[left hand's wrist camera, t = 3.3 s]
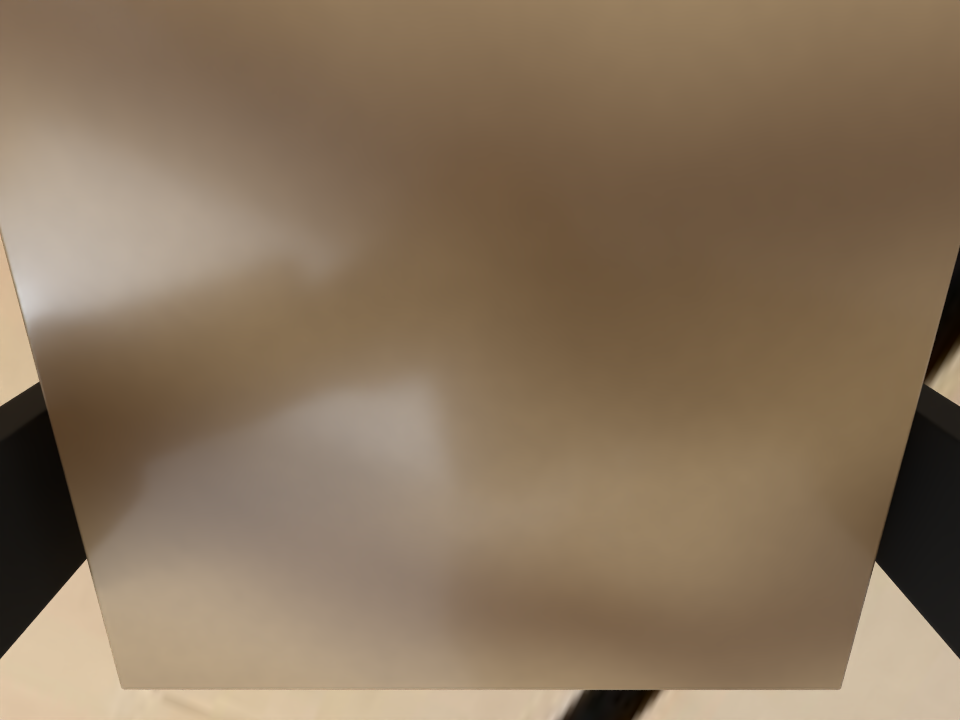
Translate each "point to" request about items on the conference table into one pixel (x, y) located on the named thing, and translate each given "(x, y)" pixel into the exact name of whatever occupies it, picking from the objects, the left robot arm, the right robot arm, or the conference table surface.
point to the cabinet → (480, 327)
